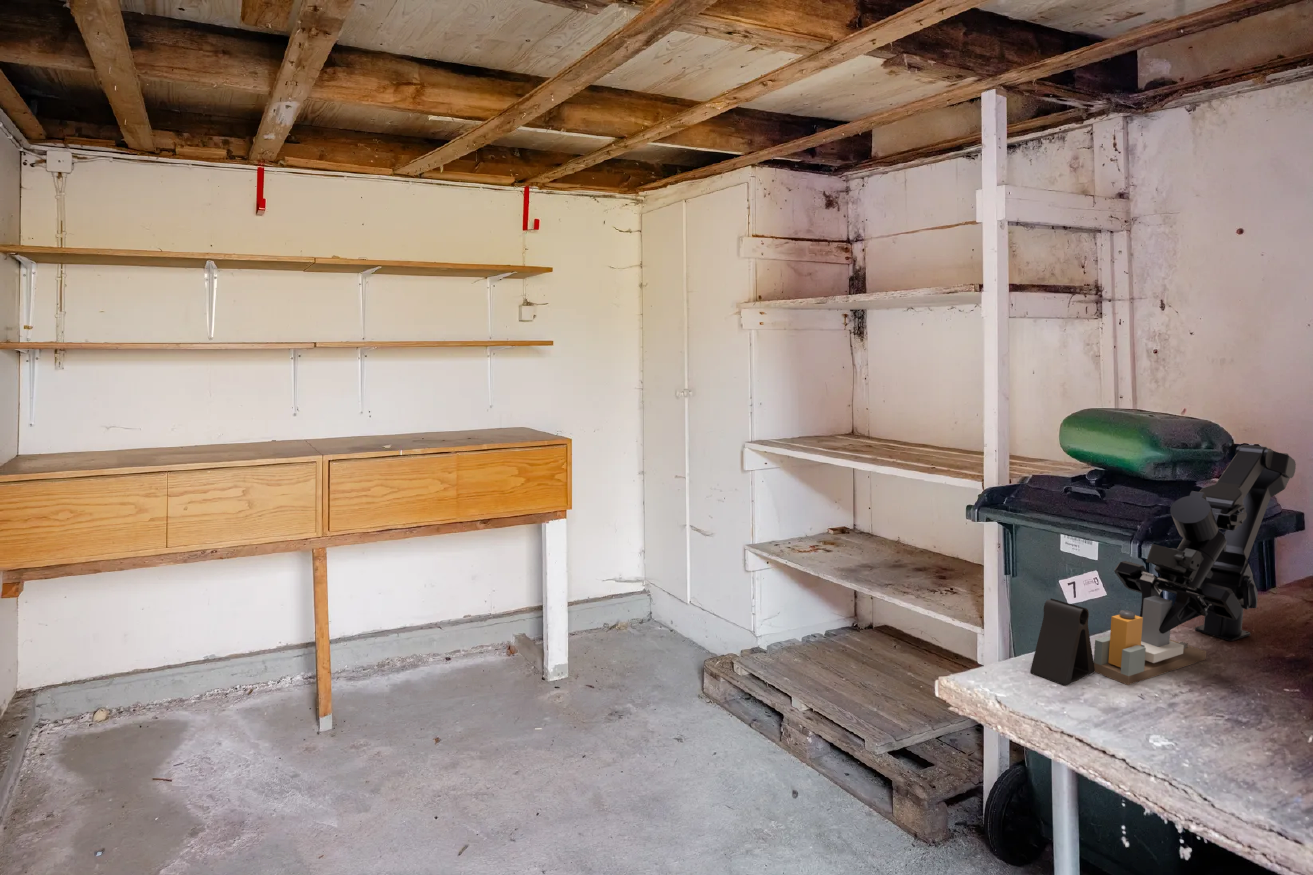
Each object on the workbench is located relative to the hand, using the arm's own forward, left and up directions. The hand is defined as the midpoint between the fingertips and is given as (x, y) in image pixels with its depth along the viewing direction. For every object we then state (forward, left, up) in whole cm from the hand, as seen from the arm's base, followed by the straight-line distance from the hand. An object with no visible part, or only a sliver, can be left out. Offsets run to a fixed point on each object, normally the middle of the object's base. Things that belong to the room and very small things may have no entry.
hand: (1150, 628), depth 136 cm
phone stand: (+15, -5, -7) cm, 17 cm away
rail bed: (-1, 0, -7) cm, 7 cm away
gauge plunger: (+7, 0, -5) cm, 8 cm away
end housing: (+8, 0, -5) cm, 9 cm away
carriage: (0, 0, -4) cm, 4 cm away
